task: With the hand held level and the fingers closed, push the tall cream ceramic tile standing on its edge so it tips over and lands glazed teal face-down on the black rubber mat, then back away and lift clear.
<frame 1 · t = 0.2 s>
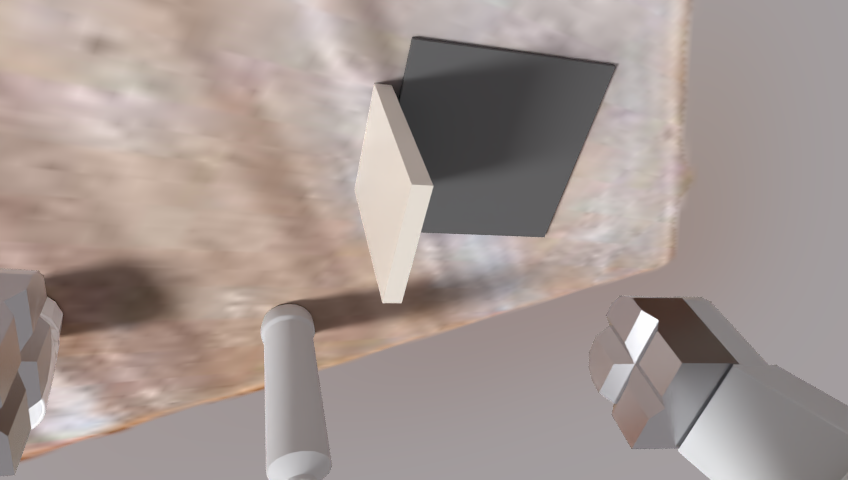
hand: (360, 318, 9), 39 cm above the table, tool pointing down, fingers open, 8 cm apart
bottle: (287, 319, 63), on the table
mat: (486, 150, 55), on the table
tile: (372, 140, 52), on the table
white cup: (20, 312, 56), on the table
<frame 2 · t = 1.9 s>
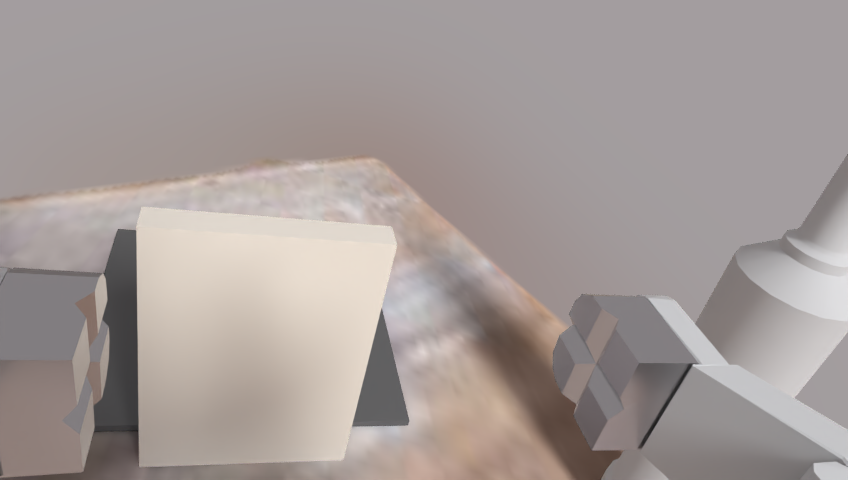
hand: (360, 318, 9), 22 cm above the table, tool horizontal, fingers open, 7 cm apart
mat: (248, 319, 41), on the table
tile: (246, 452, 33), on the table
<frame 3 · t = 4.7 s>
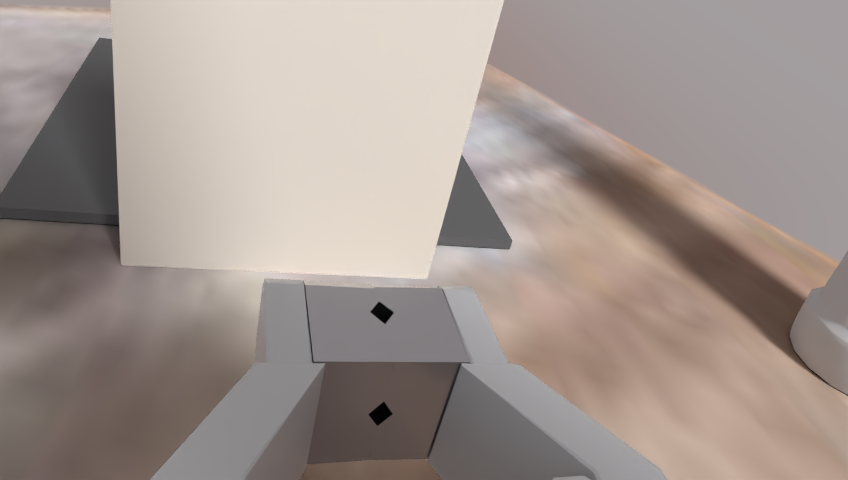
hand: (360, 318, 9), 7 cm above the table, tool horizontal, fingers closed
mat: (275, 132, 30), on the table
tile: (284, 260, 22), on the table
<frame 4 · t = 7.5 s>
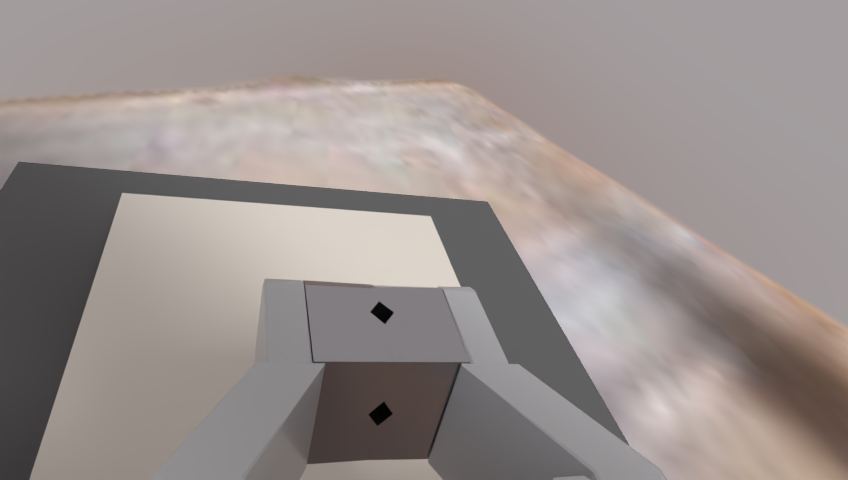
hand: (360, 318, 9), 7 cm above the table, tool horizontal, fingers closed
mat: (287, 343, 18), on the table
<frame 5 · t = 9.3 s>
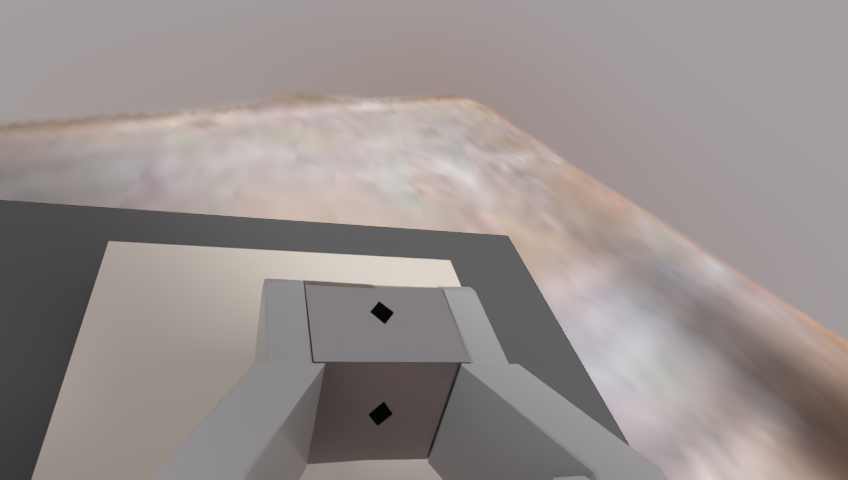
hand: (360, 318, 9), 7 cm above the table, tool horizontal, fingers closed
mat: (293, 414, 16), on the table
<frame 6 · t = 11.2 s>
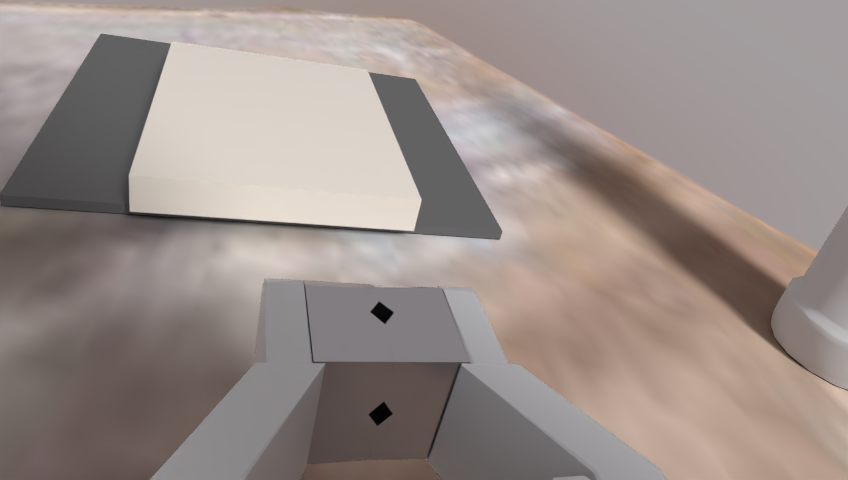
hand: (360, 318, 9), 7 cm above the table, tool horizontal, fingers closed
bottle: (829, 355, 25), on the table
mat: (272, 126, 31), on the table
tile: (283, 205, 23), point 1 cm above the table, tilted 90°, touching mat
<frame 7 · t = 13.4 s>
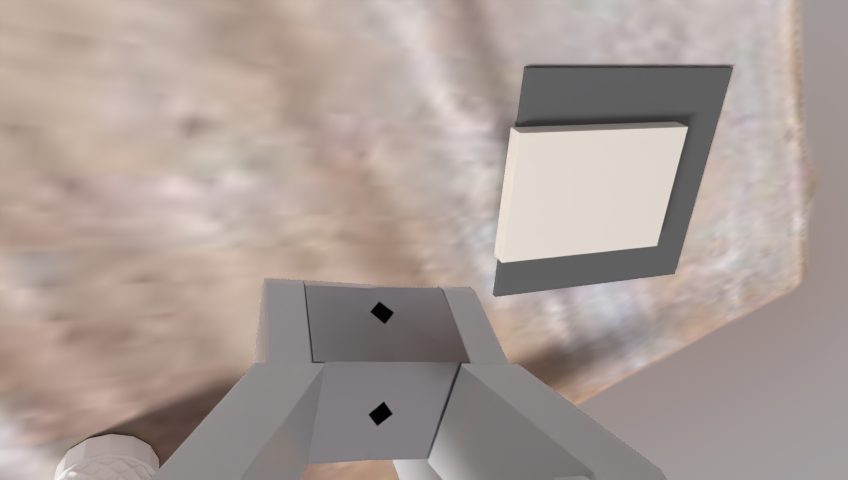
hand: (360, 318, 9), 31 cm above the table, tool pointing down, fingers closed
bottle: (406, 421, 55), on the table
mat: (608, 183, 50), on the table
tile: (506, 197, 46), point 1 cm above the table, tilted 90°, touching mat
white cup: (109, 466, 47), on the table
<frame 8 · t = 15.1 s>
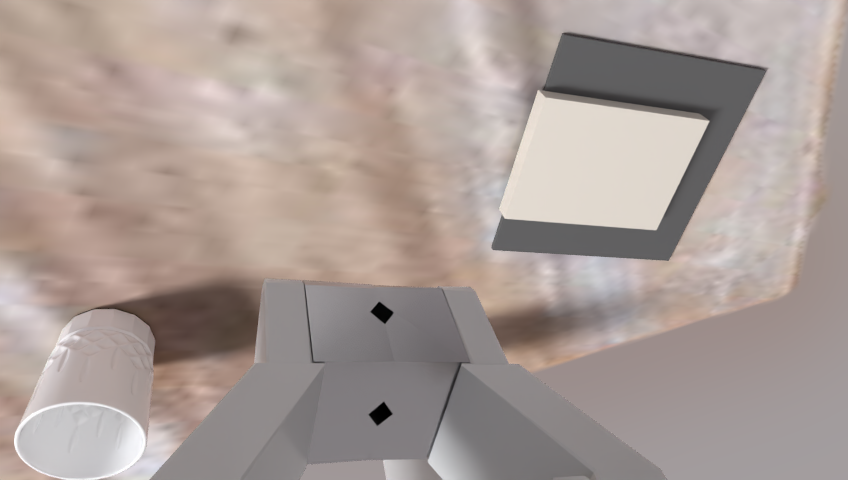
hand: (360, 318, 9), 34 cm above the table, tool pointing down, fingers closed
bottle: (388, 350, 58), on the table
mat: (621, 161, 51), on the table
tile: (520, 157, 47), point 1 cm above the table, tilted 90°, touching mat
white cup: (109, 338, 50), on the table
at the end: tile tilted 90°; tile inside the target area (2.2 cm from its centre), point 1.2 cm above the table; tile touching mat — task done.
